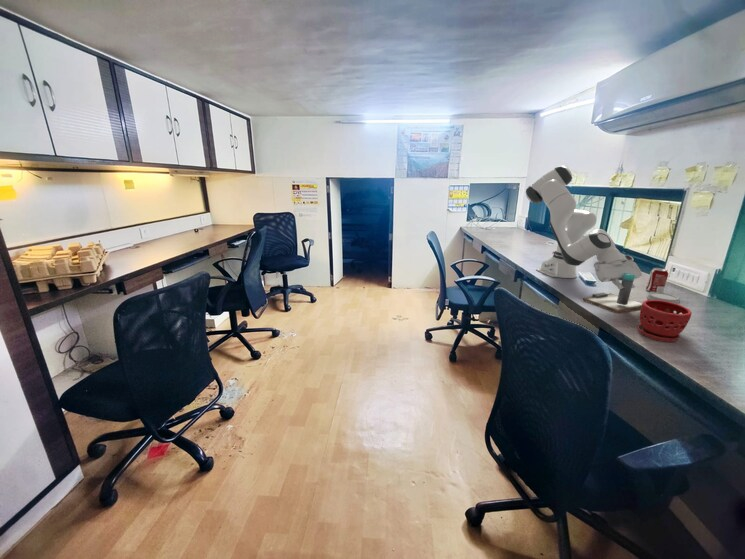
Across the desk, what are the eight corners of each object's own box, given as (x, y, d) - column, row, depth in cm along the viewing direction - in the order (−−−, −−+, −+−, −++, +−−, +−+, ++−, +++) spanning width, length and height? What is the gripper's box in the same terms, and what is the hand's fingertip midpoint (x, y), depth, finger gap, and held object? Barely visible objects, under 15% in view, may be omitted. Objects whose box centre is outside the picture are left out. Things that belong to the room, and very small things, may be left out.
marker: (614, 302, 140) (621, 273, 136) (620, 301, 141) (627, 272, 137) (623, 305, 136) (631, 276, 132) (629, 304, 137) (637, 275, 133)
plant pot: (626, 331, 118) (634, 302, 114) (648, 326, 122) (657, 297, 119) (667, 348, 106) (677, 315, 103) (690, 341, 110) (701, 310, 107)
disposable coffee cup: (633, 318, 129) (641, 291, 125) (657, 319, 128) (665, 291, 125) (652, 329, 120) (661, 300, 116) (678, 329, 119) (687, 300, 116)
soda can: (666, 294, 156) (673, 271, 153) (650, 293, 158) (657, 270, 154) (657, 289, 163) (663, 267, 159) (642, 289, 164) (648, 267, 160)
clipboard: (582, 300, 149) (583, 295, 148) (610, 295, 155) (611, 291, 154) (617, 313, 134) (618, 307, 134) (646, 307, 140) (647, 302, 140)
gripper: (597, 258, 137) (613, 286, 131) (635, 256, 141) (652, 283, 135) (587, 266, 143) (601, 293, 136) (623, 263, 147) (639, 289, 140)
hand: (627, 288), depth 136 cm, fingers closed on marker, 4 cm apart
